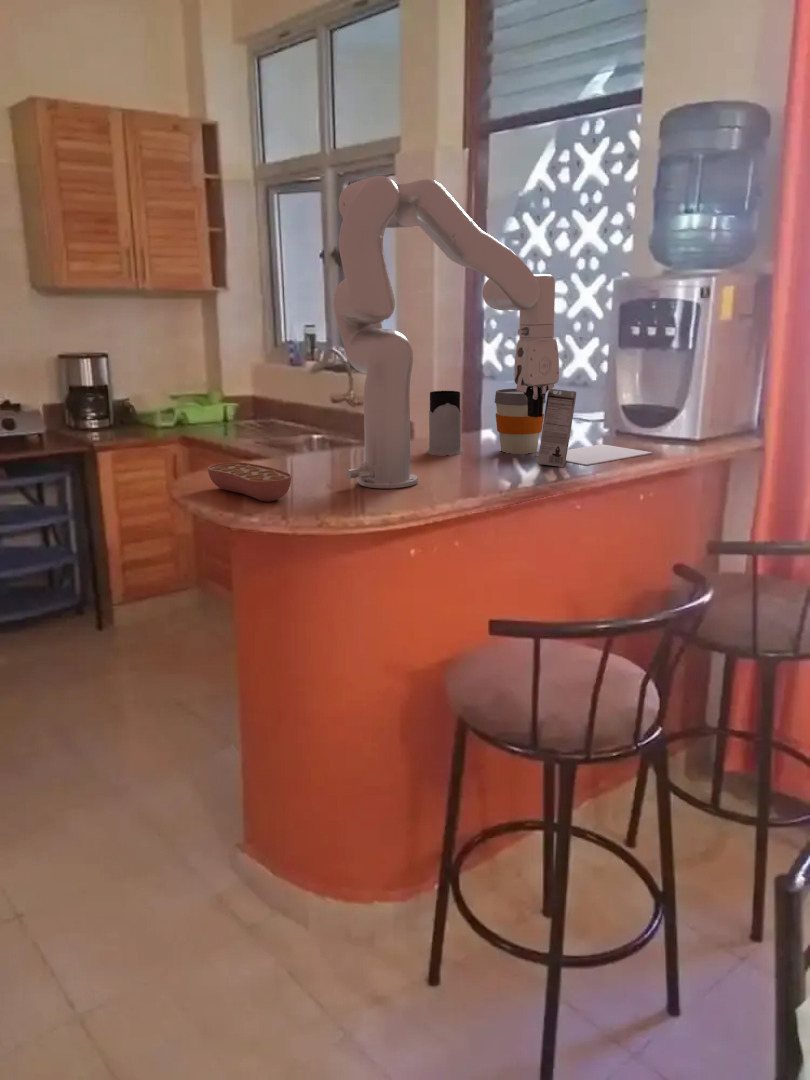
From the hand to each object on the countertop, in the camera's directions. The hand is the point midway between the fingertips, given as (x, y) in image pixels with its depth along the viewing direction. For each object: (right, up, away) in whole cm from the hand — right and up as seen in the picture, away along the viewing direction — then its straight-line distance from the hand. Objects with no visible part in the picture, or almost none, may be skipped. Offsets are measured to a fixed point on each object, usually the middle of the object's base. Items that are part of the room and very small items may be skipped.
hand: (535, 416), depth 197 cm
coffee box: (+5, -10, +6) cm, 13 cm away
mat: (+17, -7, +17) cm, 25 cm away
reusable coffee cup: (-1, -6, +23) cm, 24 cm away
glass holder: (-20, -5, +25) cm, 32 cm away
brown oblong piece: (-60, -19, -21) cm, 67 cm away
